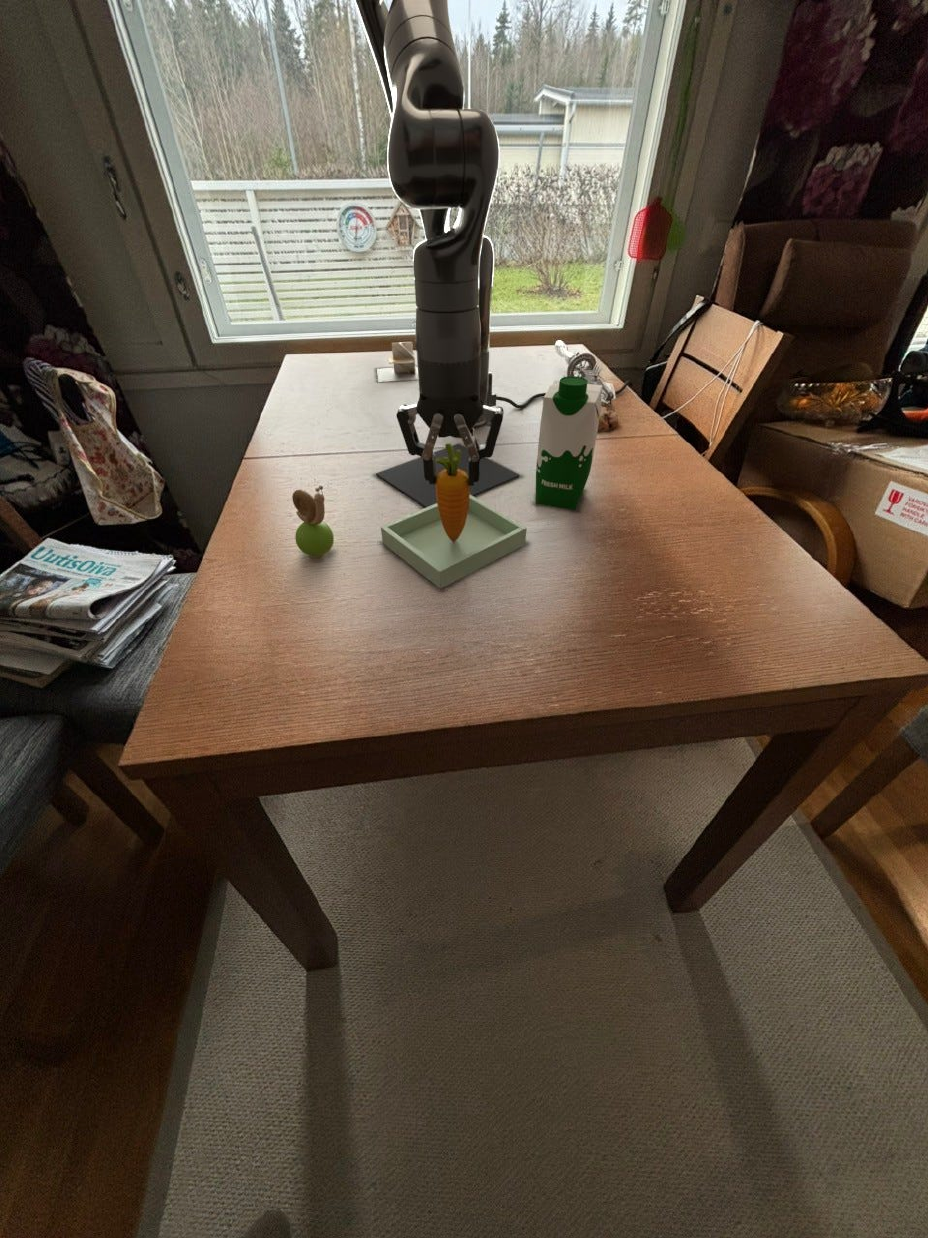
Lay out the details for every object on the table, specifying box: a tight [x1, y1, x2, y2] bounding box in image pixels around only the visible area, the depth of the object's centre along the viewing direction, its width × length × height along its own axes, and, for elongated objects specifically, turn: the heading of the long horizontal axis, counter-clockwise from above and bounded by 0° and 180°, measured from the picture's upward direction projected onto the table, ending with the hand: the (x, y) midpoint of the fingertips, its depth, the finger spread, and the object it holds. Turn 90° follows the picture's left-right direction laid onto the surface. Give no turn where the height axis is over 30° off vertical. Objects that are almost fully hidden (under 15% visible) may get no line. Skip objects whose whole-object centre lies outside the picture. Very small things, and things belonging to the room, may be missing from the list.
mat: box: [375, 443, 520, 508], centre depth 94 cm, size 20×18×1 cm
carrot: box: [435, 442, 470, 542], centre depth 72 cm, size 5×5×15 cm
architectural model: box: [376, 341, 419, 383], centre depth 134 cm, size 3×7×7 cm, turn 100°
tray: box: [380, 494, 528, 590], centre depth 77 cm, size 17×15×3 cm
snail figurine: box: [291, 485, 335, 557], centre depth 72 cm, size 5×6×12 cm
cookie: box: [598, 405, 619, 432], centre depth 110 cm, size 10×11×3 cm
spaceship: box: [554, 339, 617, 406], centre depth 126 cm, size 8×35×8 cm
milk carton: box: [535, 375, 602, 511], centre depth 81 cm, size 9×9×20 cm
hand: (452, 482), depth 71 cm, fingers closed on carrot, 5 cm apart
